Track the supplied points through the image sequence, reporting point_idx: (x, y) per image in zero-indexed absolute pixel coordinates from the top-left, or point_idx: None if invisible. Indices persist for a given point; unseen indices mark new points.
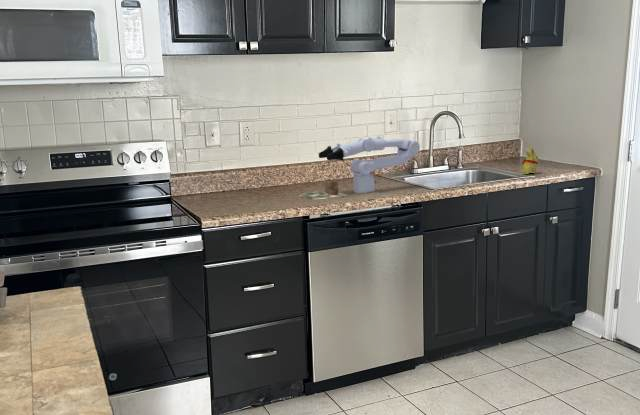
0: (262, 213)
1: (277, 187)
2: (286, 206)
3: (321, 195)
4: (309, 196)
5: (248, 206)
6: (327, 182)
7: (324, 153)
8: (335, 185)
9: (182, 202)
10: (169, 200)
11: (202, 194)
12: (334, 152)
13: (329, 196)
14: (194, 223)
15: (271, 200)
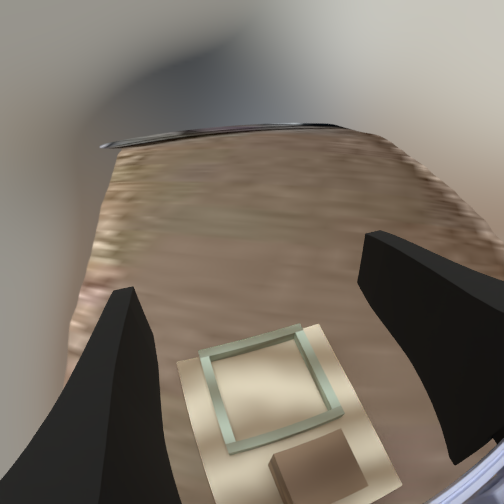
0: (106, 211)
1: (501, 277)
2: (152, 266)
3: (214, 405)
4: (215, 347)
5: (211, 193)
6: (303, 443)
7: (418, 303)
8: (288, 497)
9: (309, 131)
10: (332, 125)
11: (390, 154)
12: (68, 395)
13: (228, 454)
14: (114, 145)
15: (282, 241)
